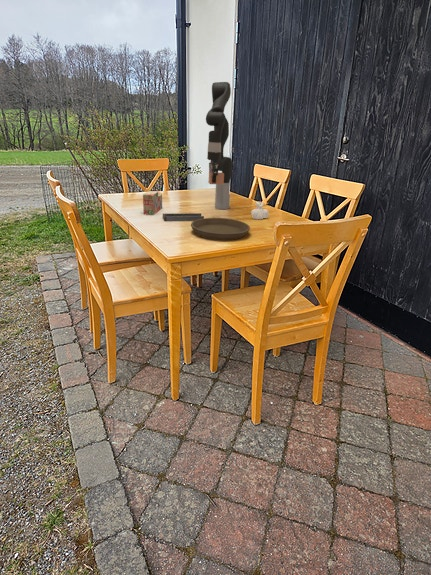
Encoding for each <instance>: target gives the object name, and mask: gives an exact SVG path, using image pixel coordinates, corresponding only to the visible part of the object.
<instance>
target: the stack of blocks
mask: <svg viewBox="0 0 431 575" xmlns="http://www.w3.org/2000/svg"><path fill="white" fill-rule="evenodd" d="M142 206H143V210H142V211H143V215H145V214H146V216H147V215H148V216H154V215H156V214H157V213H158V212H159V211H161V210H162V209H163V194H162V193H159V191H154V190H148V191H147V192H145V193H144V194H143V193H142ZM155 213H156V214H155Z"/></svg>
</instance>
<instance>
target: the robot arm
mask: <svg viewBox="0 0 431 575" xmlns="http://www.w3.org/2000/svg"><path fill="white" fill-rule="evenodd" d="M231 95H232V88H231V84H230V82H228V81H218V82H217V81H215V82H212V85H211V97H212V98H211V99H212V106H211V108H210V109H209V110H208V112H207V113H206V114H205V116H206V117H205V122H206V124H207V126H209V127H210V126H211V127H213V130H210V131H209V132H208V143H207V158H206V159H207V160H209V162H208V173H209V172H212V183H216V176H217V175H218V173H219V172H221V173H224V184H215V199H214V201H215V202H214V208H215V209H216V210H217V209H218V210H228V209H229V210H230V201H231V200H230V199H231V194H230V188H231V186H230V185H231V178H232V174H233V159H232V158H231V157H230V156H229V157H228V156H224V149H225V148H224V147H225V145H226V143H227V140H228V138H229V133H230V127H229V126H230V123H229V121H228V118H227V117H226V115H225V113H224V112H225V108H226V105H227V104H228V102H229V100H230V98H231Z"/></svg>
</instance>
